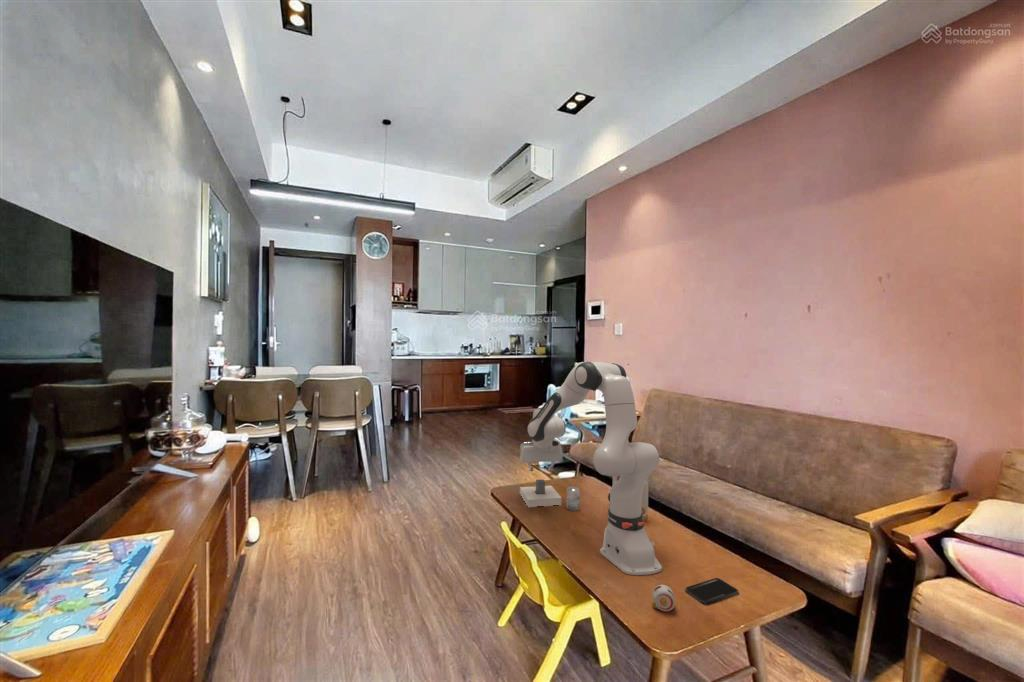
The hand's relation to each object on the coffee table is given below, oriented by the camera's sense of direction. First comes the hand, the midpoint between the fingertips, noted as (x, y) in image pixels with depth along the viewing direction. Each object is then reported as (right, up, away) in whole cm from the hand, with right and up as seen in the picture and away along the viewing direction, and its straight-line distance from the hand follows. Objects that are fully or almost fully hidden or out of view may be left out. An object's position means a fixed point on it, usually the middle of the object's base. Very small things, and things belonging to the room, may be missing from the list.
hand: (540, 470), depth 193 cm
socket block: (0, -14, 0) cm, 14 cm away
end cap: (+36, -15, -7) cm, 40 cm away
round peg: (+14, -14, -9) cm, 22 cm away
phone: (+47, -16, -69) cm, 85 cm away
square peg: (0, -14, 0) cm, 14 cm away
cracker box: (+37, -15, -19) cm, 44 cm away
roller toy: (+30, -15, -77) cm, 84 cm away
